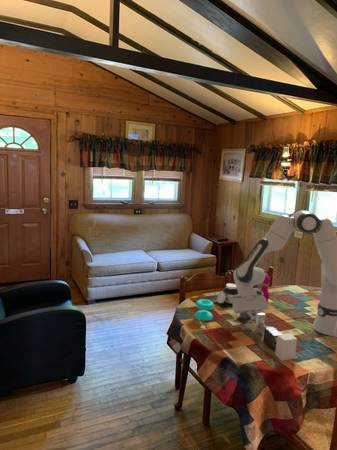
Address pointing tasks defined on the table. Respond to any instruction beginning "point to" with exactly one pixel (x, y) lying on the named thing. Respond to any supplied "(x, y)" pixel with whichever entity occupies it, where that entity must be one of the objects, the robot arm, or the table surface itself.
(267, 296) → the pepper mill
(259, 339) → the base board
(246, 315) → the pipe
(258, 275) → the robot arm
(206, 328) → the cell phone
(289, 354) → the socket
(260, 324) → the tube
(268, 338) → the sleeve
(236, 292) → the spread jar
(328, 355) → the table surface
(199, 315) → the donuts
